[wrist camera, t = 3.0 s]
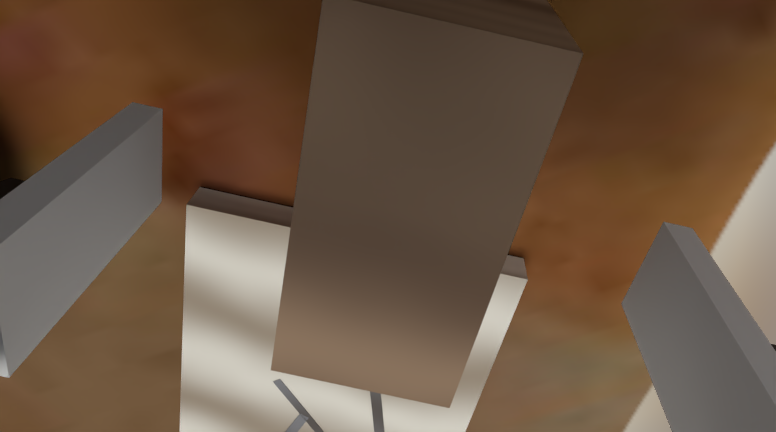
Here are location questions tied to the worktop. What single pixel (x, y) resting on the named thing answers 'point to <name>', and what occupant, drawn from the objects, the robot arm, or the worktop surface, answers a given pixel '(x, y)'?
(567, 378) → the worktop surface
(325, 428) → the white marble board
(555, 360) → the worktop surface
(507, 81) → the block
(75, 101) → the worktop surface
